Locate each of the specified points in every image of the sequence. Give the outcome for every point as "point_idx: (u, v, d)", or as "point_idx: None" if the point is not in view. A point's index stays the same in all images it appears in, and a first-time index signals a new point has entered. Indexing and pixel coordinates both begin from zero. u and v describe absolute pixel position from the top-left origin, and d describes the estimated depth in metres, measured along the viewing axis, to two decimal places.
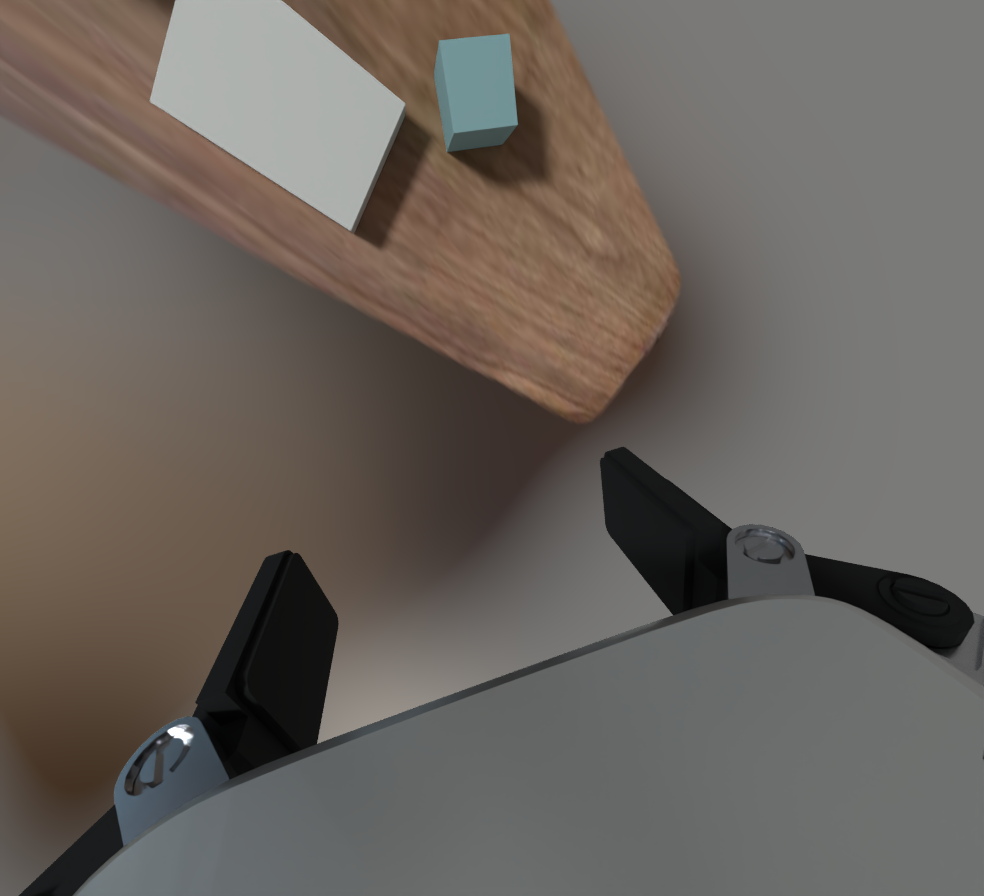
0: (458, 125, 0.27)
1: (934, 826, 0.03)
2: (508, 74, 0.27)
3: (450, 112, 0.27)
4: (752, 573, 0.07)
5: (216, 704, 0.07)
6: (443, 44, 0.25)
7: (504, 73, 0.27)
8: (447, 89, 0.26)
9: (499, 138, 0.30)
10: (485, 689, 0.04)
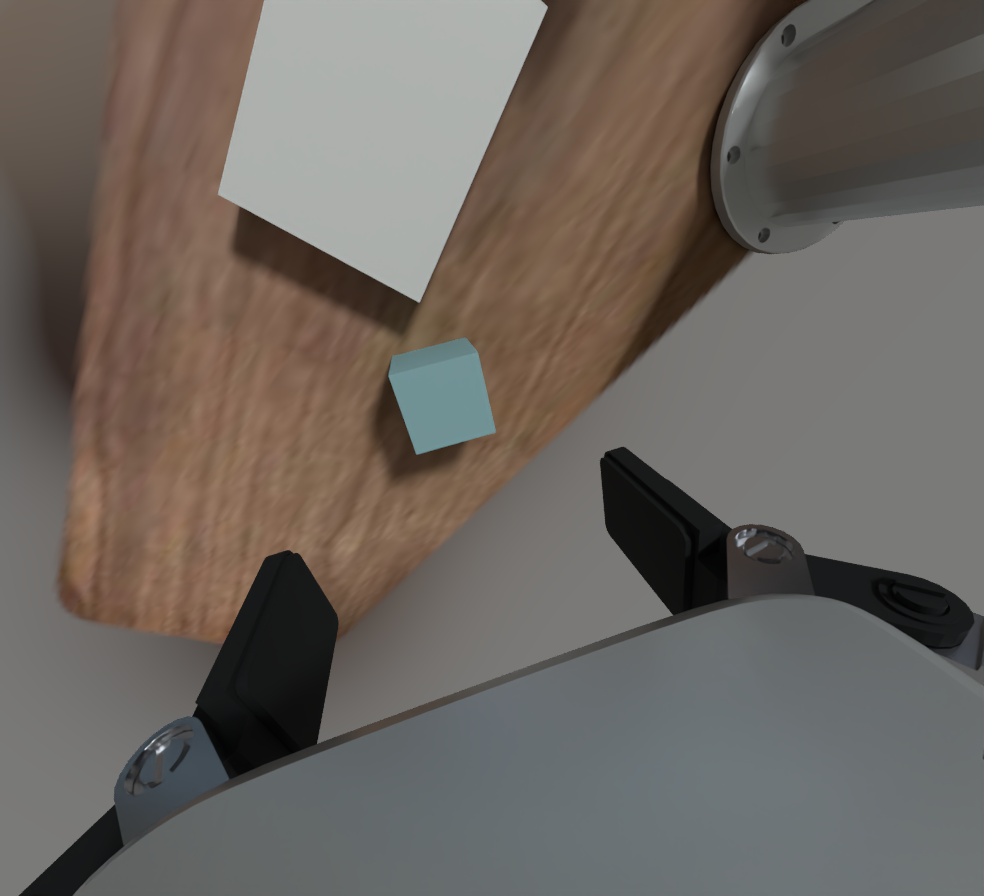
0: (398, 381, 0.20)
1: (934, 826, 0.03)
2: (461, 436, 0.22)
3: (411, 369, 0.20)
4: (752, 573, 0.07)
5: (216, 704, 0.07)
6: (475, 357, 0.20)
7: (461, 432, 0.22)
8: (433, 364, 0.20)
9: None
10: (485, 689, 0.04)
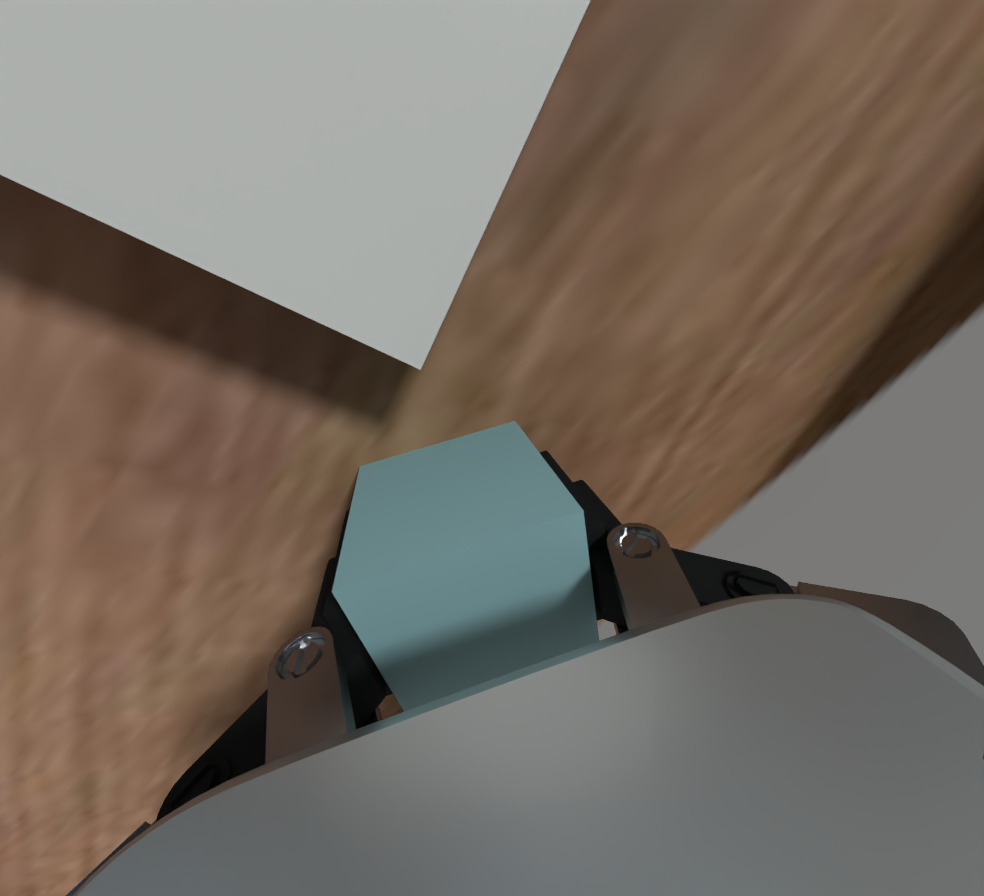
0: (362, 600, 0.07)
1: (934, 826, 0.03)
2: None
3: (398, 564, 0.07)
4: (635, 571, 0.07)
5: (338, 617, 0.08)
6: (574, 523, 0.07)
7: None
8: (461, 549, 0.07)
9: None
10: (485, 689, 0.04)
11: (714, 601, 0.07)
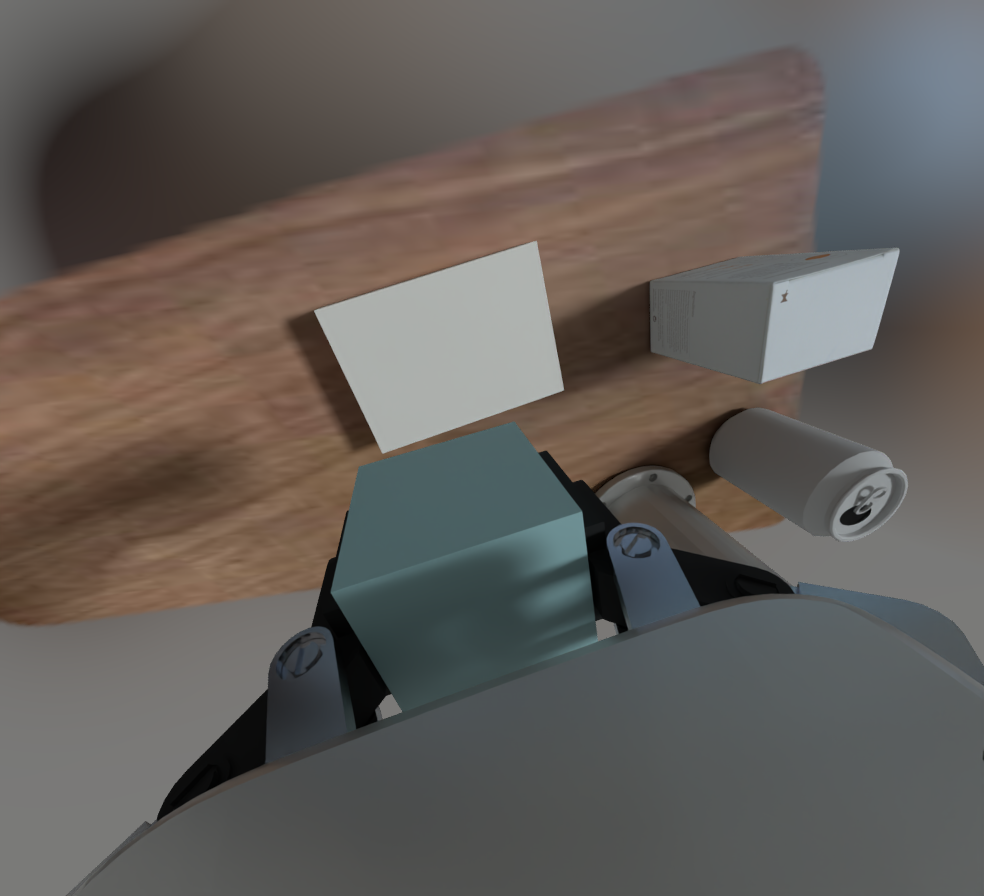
0: (361, 601, 0.07)
1: (934, 825, 0.03)
2: None
3: (397, 565, 0.07)
4: (635, 571, 0.07)
5: (338, 617, 0.08)
6: (573, 523, 0.07)
7: None
8: (460, 550, 0.07)
9: None
10: (485, 688, 0.04)
11: (713, 601, 0.07)
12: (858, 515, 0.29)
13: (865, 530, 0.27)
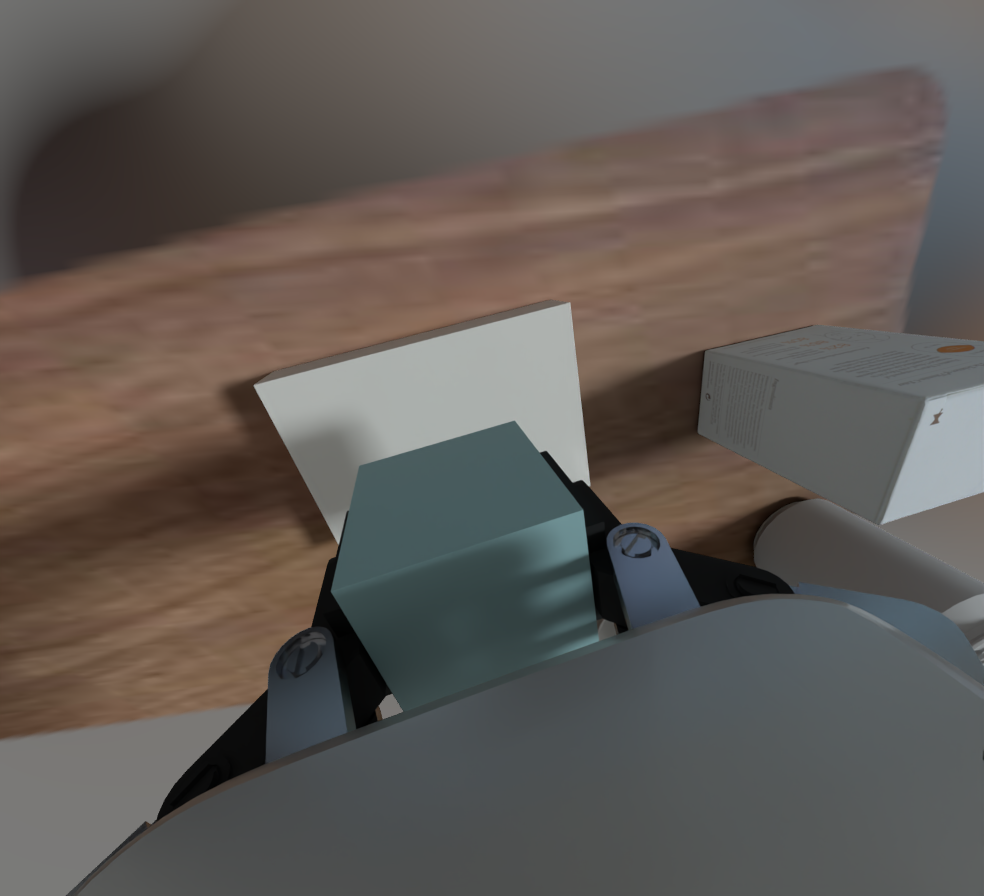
0: (361, 600, 0.07)
1: (935, 826, 0.03)
2: None
3: (397, 564, 0.07)
4: (635, 571, 0.07)
5: (338, 617, 0.08)
6: (574, 522, 0.07)
7: None
8: (460, 548, 0.07)
9: None
10: (485, 689, 0.04)
11: (714, 601, 0.07)
12: None
13: None
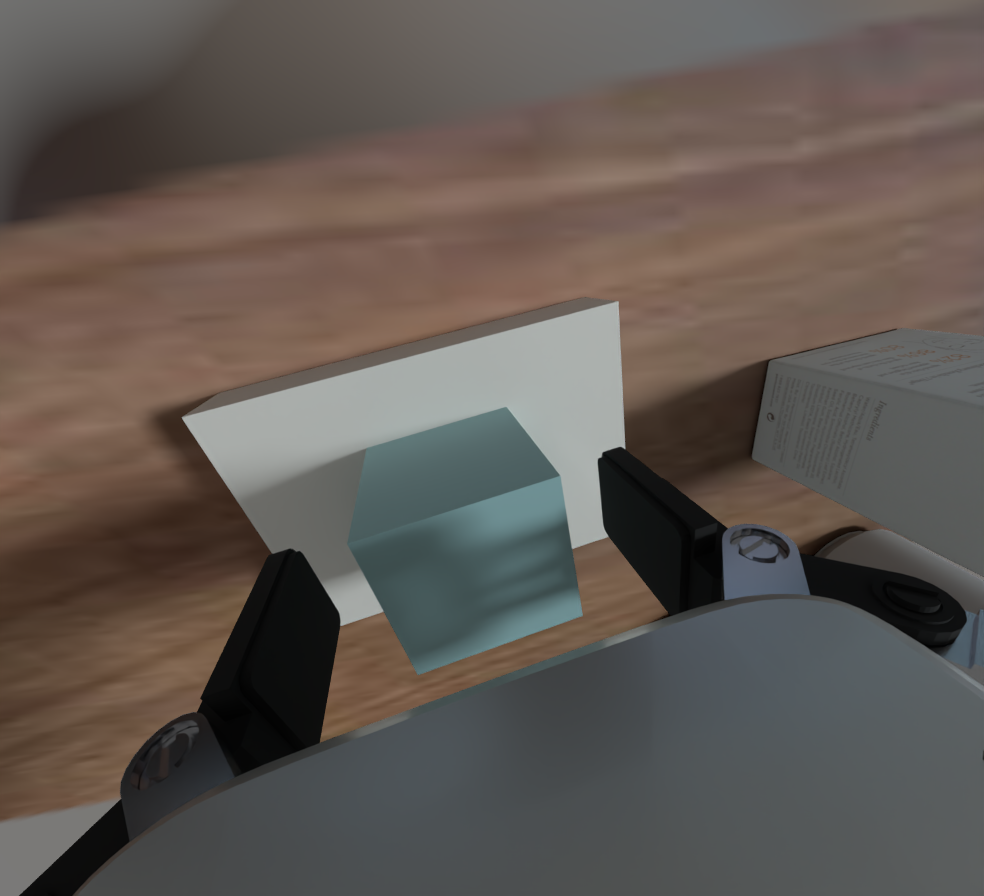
0: (372, 552, 0.08)
1: (934, 826, 0.03)
2: (513, 632, 0.10)
3: (402, 522, 0.08)
4: (748, 572, 0.07)
5: (221, 700, 0.07)
6: (553, 486, 0.09)
7: (514, 624, 0.10)
8: (456, 509, 0.08)
9: None
10: (485, 689, 0.04)
11: None
12: None
13: None
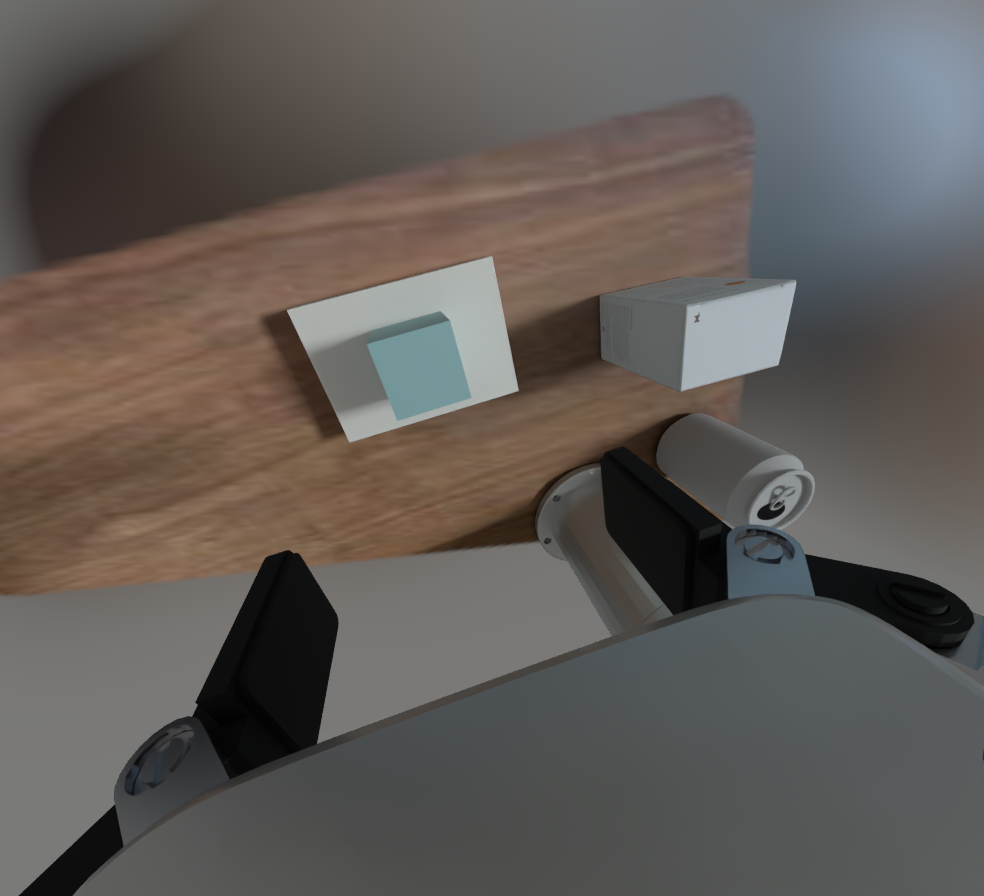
0: (376, 349, 0.21)
1: (934, 826, 0.03)
2: (439, 402, 0.24)
3: (388, 338, 0.21)
4: (752, 573, 0.07)
5: (216, 704, 0.07)
6: (447, 325, 0.22)
7: (439, 398, 0.23)
8: (408, 332, 0.21)
9: None
10: (485, 689, 0.04)
11: (871, 613, 0.06)
12: (777, 512, 0.33)
13: (780, 525, 0.31)
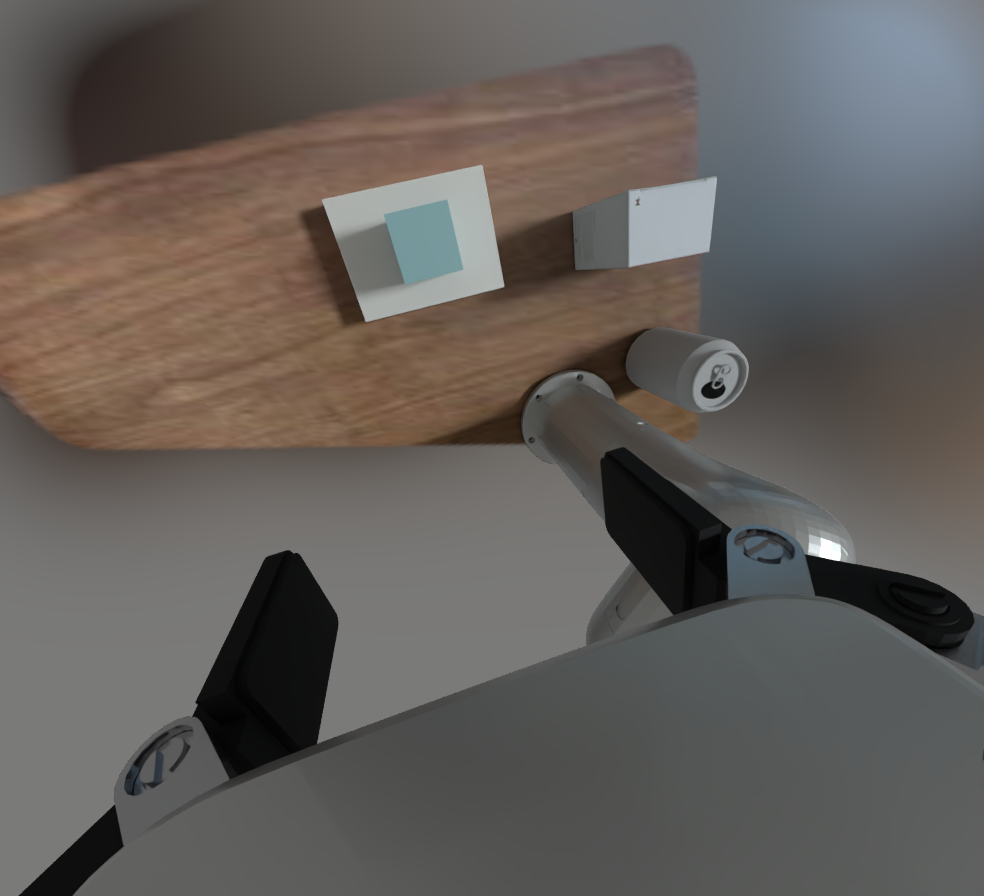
0: (390, 219, 0.28)
1: (934, 826, 0.03)
2: (438, 271, 0.30)
3: (399, 211, 0.28)
4: (752, 573, 0.07)
5: (216, 704, 0.07)
6: (445, 203, 0.28)
7: (438, 267, 0.30)
8: (415, 207, 0.28)
9: None
10: (485, 689, 0.04)
11: (871, 613, 0.06)
12: None
13: (722, 404, 0.37)
